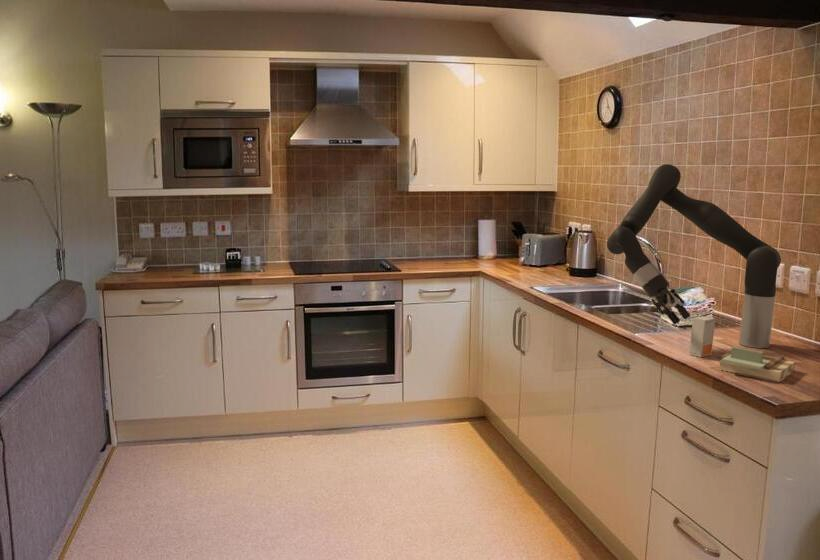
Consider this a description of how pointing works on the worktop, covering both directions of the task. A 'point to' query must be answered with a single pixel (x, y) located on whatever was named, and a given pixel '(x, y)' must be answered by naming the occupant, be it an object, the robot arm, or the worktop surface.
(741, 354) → the cover
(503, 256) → the worktop surface
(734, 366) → the board
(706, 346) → the skincare box
